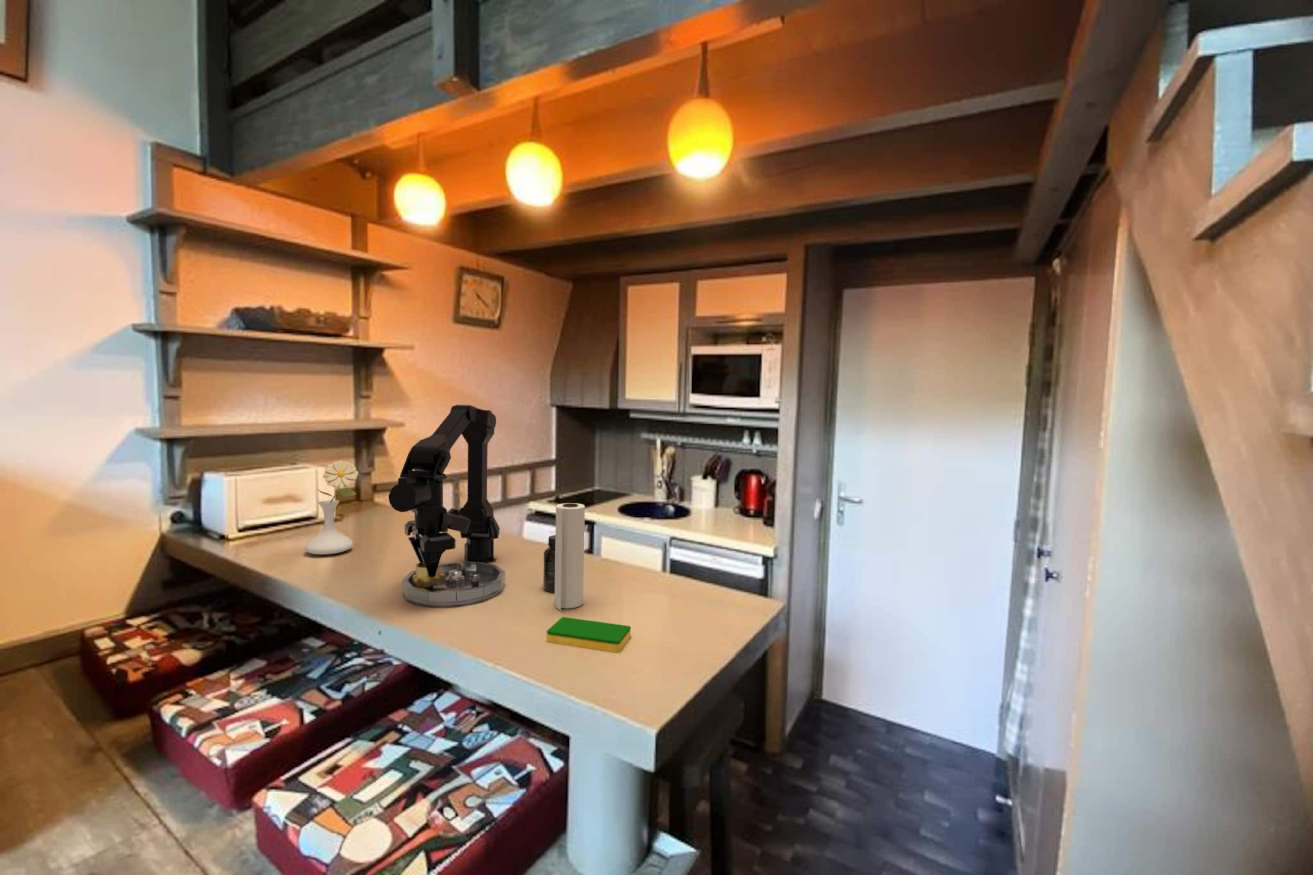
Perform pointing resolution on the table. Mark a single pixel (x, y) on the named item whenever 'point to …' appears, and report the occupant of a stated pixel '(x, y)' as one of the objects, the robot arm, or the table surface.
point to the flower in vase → (330, 537)
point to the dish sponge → (589, 634)
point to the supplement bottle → (549, 566)
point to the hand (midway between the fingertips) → (429, 573)
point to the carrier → (457, 585)
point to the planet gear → (427, 576)
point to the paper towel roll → (569, 555)
